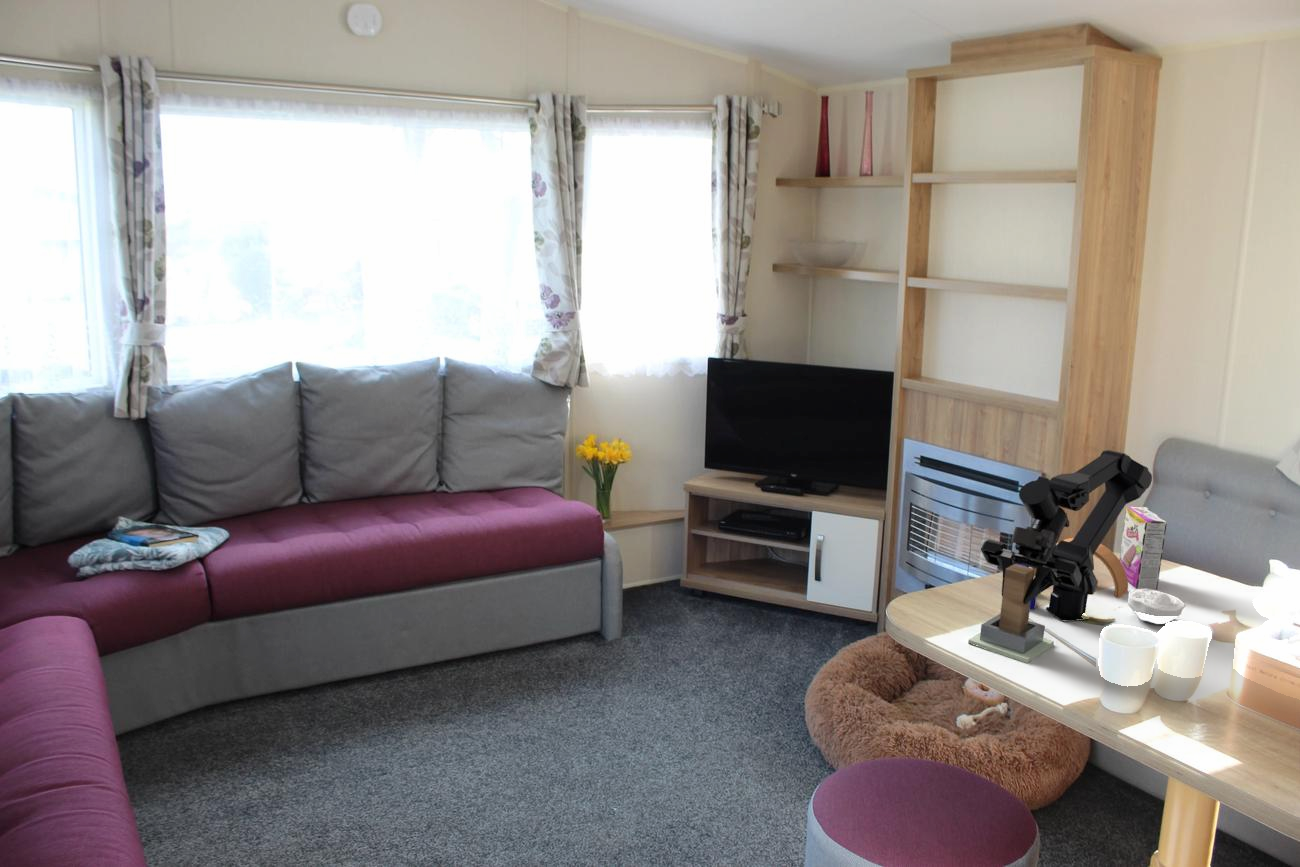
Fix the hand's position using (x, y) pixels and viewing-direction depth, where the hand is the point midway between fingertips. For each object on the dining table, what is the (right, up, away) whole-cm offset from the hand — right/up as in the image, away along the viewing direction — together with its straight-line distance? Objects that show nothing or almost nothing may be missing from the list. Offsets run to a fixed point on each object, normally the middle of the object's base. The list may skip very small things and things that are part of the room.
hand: (1013, 599), depth 211 cm
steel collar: (+1, -9, +3) cm, 10 cm away
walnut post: (+1, -6, +2) cm, 7 cm away
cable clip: (+10, -4, +28) cm, 30 cm away
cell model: (+35, -7, +18) cm, 40 cm away
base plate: (+1, -9, +3) cm, 10 cm away
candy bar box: (+41, -2, +40) cm, 58 cm away
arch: (+27, -2, +38) cm, 47 cm away
